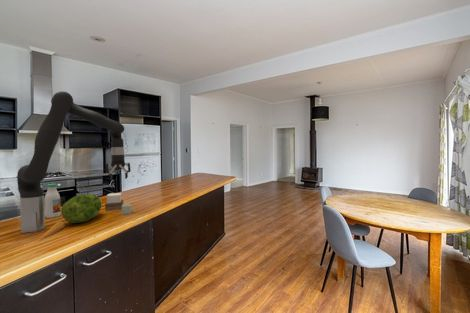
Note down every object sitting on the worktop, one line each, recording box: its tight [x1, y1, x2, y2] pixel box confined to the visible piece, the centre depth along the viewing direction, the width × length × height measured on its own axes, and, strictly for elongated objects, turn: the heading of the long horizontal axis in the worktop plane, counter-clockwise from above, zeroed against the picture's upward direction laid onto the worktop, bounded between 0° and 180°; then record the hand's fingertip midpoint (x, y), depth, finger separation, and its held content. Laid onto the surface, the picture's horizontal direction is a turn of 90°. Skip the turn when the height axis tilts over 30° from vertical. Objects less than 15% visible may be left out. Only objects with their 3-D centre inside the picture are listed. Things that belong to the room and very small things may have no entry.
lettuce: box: [61, 193, 103, 224], centre depth 138 cm, size 15×27×16 cm, turn 0°
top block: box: [106, 192, 123, 203], centre depth 164 cm, size 8×8×5 cm
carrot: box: [36, 220, 65, 243], centre depth 115 cm, size 20×4×4 cm, turn 8°
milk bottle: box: [44, 183, 62, 219], centre depth 145 cm, size 8×8×20 cm
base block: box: [104, 199, 124, 212], centre depth 165 cm, size 10×10×5 cm
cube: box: [121, 203, 132, 215], centre depth 152 cm, size 5×5×5 cm
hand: (118, 179), depth 154 cm, fingers open, 8 cm apart
